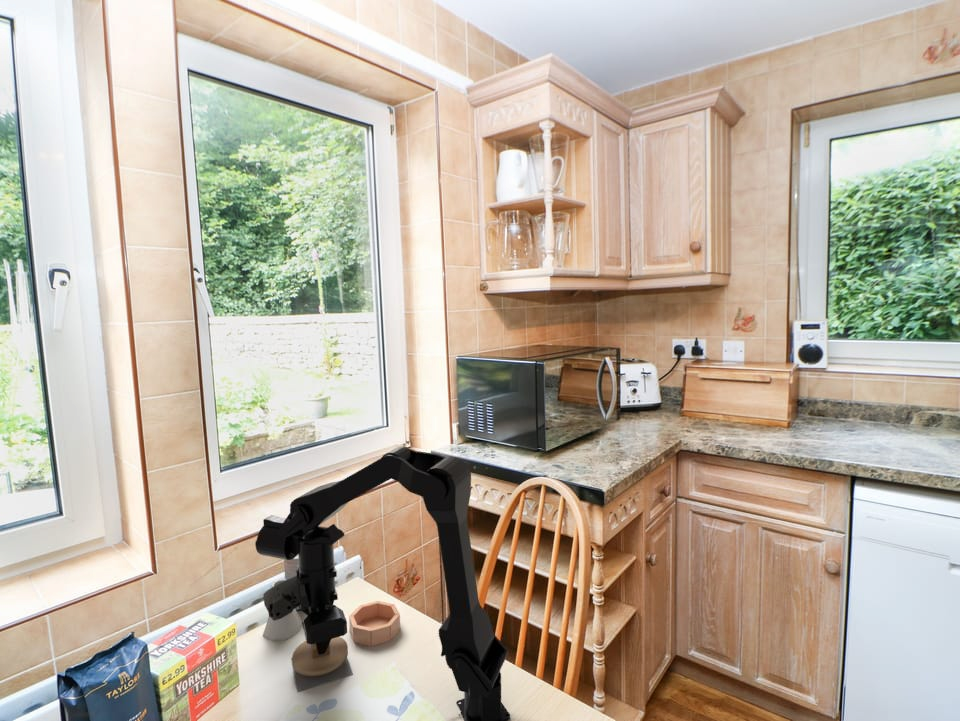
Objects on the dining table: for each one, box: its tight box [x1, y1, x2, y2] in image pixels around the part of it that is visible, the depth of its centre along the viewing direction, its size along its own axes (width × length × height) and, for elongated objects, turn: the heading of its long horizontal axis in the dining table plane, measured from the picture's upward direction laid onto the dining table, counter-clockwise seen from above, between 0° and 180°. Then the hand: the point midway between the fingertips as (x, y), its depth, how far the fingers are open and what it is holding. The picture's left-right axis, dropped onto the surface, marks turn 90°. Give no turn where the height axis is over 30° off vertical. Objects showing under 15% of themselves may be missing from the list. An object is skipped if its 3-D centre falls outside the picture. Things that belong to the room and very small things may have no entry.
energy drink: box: [283, 555, 303, 614], centre depth 109 cm, size 5×5×12 cm
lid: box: [291, 636, 349, 676], centre depth 91 cm, size 9×9×4 cm
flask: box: [262, 578, 303, 641], centre depth 101 cm, size 7×7×10 cm
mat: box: [290, 657, 354, 693], centre depth 91 cm, size 9×9×1 cm
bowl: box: [348, 600, 401, 647], centre depth 101 cm, size 9×9×4 cm
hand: (320, 648), depth 91 cm, fingers closed on lid, 3 cm apart
